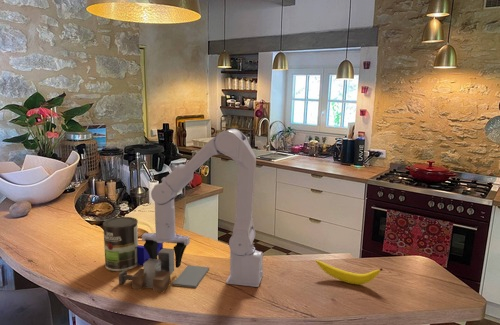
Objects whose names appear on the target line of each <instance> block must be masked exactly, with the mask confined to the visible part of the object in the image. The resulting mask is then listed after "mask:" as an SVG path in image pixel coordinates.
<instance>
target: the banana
mask: <svg viewBox="0 0 500 325" xmlns="http://www.w3.org/2000/svg"><path fill="white" fill-rule="evenodd" d="M315 263H316V264H317V265H318V266H319V268H320V269H321V270H322V271H323V272H325V273H326V274H327V275H329V276H330V277H333V278H334V279H336V280H338V281H341V282H344V283H348V284H351V285H365V284H368V283H370V282H371V281H373V280H374V279H375V278H376V277H377V276H378V275H379V274H380V272H381V271H382V272H383V268H382V267H381V268H380V269H375V270H373V271H369V272H366V273H354V272H350V271H346V270H344V269H340V268H337V267H334V266H332V265H330V264H327V263H326V262H323V261H321V260H317V259H316V260H315Z"/></svg>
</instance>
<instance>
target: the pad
mask: <svg viewBox="0 0 500 325" xmlns="http://www.w3.org/2000/svg"><path fill="white" fill-rule="evenodd" d="M208 271H210V266H209V267H208V266H200V265H190V264H187V265H186V267H184V270H182V272H181V273H180V274H179V275H178V277H176V279H174V281H173V282H172V286H176V287H183V288H184V287H185V288H191V289H192V288H194V289H196V288H198V286H199V284H200V283H201V281H203V279H204V278H205V276H206V275H207V273H208Z"/></svg>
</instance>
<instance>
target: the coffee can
mask: <svg viewBox="0 0 500 325" xmlns="http://www.w3.org/2000/svg"><path fill="white" fill-rule="evenodd" d="M102 227H103V243H104V247H103V248H104V260H105V263H104V266H105V269H106V270H108V271H112V272H122V271H123V270H124V269H125V270H127V271H128V270H131V269H134V268H135V267H137V266H139V265H138V262H137V246H138V245H139V238H138V236H139V234H138V219H137V218H135V217H130V216H119V217H113V218H109V219H106V220H105V221H103V222H102Z"/></svg>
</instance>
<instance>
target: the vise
mask: <svg viewBox="0 0 500 325" xmlns="http://www.w3.org/2000/svg"><path fill="white" fill-rule="evenodd" d="M126 281H131V286H132V287H131V288H132V290H141V291H142V290H143V289H144V288H145V287H144V268H139V270H137V271H136V272H135V273H134V274H133V275H132V274H128V270H125V269H124V270H123V271H120V272H119V274H118V284H119V285H123V284H124V283H125V282H126ZM170 285H171V275H170V272H167V271H160V272H159V273H158V274H157V275H156V276H155V277H154V278H153V288H152V290H153V292H159V293H164V292H165V291H166V289H168V287H169V286H170Z"/></svg>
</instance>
